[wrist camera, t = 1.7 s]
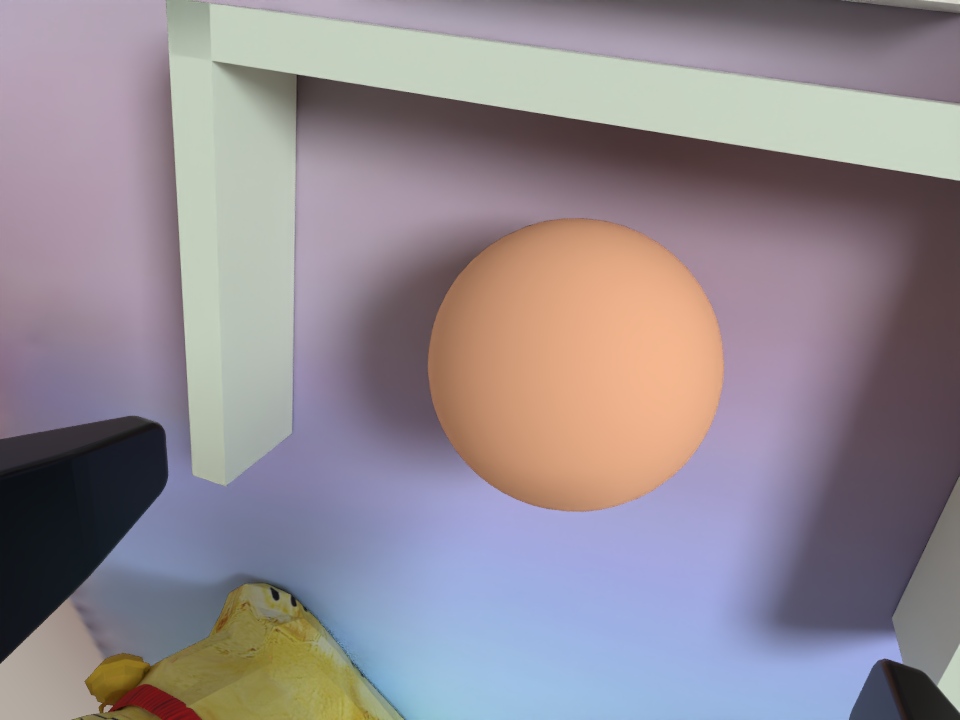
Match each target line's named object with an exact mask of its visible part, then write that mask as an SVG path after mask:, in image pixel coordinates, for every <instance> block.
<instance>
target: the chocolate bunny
mask: <svg viewBox="0 0 960 720" xmlns="http://www.w3.org/2000/svg"><path fill="white" fill-rule="evenodd" d="M85 683H86V685H87V687H88V689H89V691H90V693H91V695H95V696H96V699H97V701H98V702H101V703H102V704H101V705H100V706H99V711H100V713H99V714H92V715H86V716H83V717H79V718H76V719H72V720H404V719H403V718H402V717H401V716H400V715H399V714H398V712H397V711H396V710H395V709H394V708H393V707H392V706H391V705H390V704H389V703H388V702H387V701H386V700H385V699H384V697H383V696H382V695H381V694H380V693H379V692H378V691H377V690H376V689H375V688H374V687H373V686H372V685H371V684H370V682H369V681H368V680H367V679H366V678H365V677H364V676H363V675H362V674H361V673H360V672H359V671H358V670H357V668H356V667H355V666H354V664H353V663H352V662H351V660H350V659H349V658H348V656H347V655H346V654H345V652H344V651H343V650H342V648H341V647H340V646H339V644H338V643H337V642H336V641H335V640H334V638H333V637H332V636H331V635H330V634H329V633H328V632H327V630H326V629H325V628H324V627H323V626H322V625H321V623H320V622H319V621H318V620H317V619H316V618H315V617H314V616H313V615H312V614H311V613H310V612H309V611H308V610H307V609H306V608H305V607H304V606H303V605H301V604H300V603H299V602H298V601H297V600H296V599H295V598H294V597H293V596H292V595H290V594H288V593H286V592H284V591H282V590H279V589H277V588H275V587H273V586H271V585H269V584H266V583H255V584H244V585H242V586H240V587H239V588H237V589H235V590H234V591H232V592H230V593H229V595H228V597H227V600H226V602H225V605H224V607H223V610H222V612H221V615H220V617H219V618H218V620H217V622H216V624H215V626H214V628H213V629H212V631H211V633H210V635H209V637H208V638H206V639H204V640H202V641H200V642H198V643H195V644H193V645H191V646H189V647H187V648H185V649H183V650H181V651H179V652H177V653H175V654H173V655H171V656H169V657H167V658H165V659H163V660H161V661H160V662H158V663H156V664H154V665H152V666H151V667H150V664H149V663H144V661H143V659H142V657H139V656H135V655H131V654H126V653H121V654H118V655H114V656H111V657H109V658H107V659H105V660H104V661H103V662H102V663H101V664H100V665H99V666H98V667H97V668H96V669H95V670H94V672H93V673H92V674H91V675H90V677H88V678H87V680H86V681H85ZM106 705H113V707H112V708H111V709H110V710H109V711H108V712H106V713H103V709H104V707H105V706H106Z"/></svg>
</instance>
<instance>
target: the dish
mask: <svg viewBox="0 0 960 720" xmlns="http://www.w3.org/2000/svg"><path fill="white" fill-rule="evenodd" d="M841 1H851V2H860V3H869V4H879V5H888V6H898V7H907V8H916V9H926V10H935V11H944V12H954V13H960V0H841Z"/></svg>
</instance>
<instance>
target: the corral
mask: <svg viewBox="0 0 960 720" xmlns="http://www.w3.org/2000/svg"><path fill="white" fill-rule="evenodd" d="M166 9H167V27H168V45H169V63H170V81H171V99H172V117H173V134H174V152H175V170H176V188H177V206H178V224H179V242H180V259H181V277H182V295H183V313H184V331H185V349H186V367H187V384H188V402H189V420H190V438H191V456H192V474H193V476H196V477H199V478H202V479H205V480H208V481H211V482H214V483H217V484H220V485H223V486H227V485H228V484H229V483H231V482H232V481H233V480H234V479H236V478H237V477H238V476H239V475H241V474H242V473H243V472H244V471H246V470H247V469H248V468H249V467H251V466H252V465H253V464H254V463H256V462H257V461H258V460H259V459H261V458H262V457H263V456H264V455H266V454H267V453H268V452H269V451H271V450H272V449H273V448H274V447H276V446H277V445H278V444H279V443H281V442H282V441H283V440H284V439H286V438H287V437H288V436H289V435H291V434H292V406H293V327H294V248H295V169H296V90H297V74H299V75H305V76H311V77H317V78H324V79H330V80H336V81H342V82H349V83H355V84H361V85H367V86H373V87H380V88H386V89H392V90H398V91H405V92H411V93H417V94H423V95H429V96H436V97H442V98H448V99H454V100H461V101H467V102H473V103H479V104H486V105H492V106H498V107H504V108H510V109H517V110H523V111H529V112H535V113H542V114H548V115H554V116H560V117H566V118H573V119H579V120H585V121H591V122H598V123H604V124H610V125H616V126H622V127H629V128H635V129H641V130H647V131H654V132H660V133H666V134H672V135H679V136H685V137H691V138H697V139H703V140H710V141H716V142H722V143H728V144H735V145H741V146H747V147H753V148H759V149H766V150H772V151H778V152H784V153H791V154H797V155H803V156H809V157H815V158H822V159H828V160H834V161H840V162H847V163H853V164H859V165H865V166H872V167H878V168H884V169H890V170H896V171H903V172H909V173H915V174H921V175H928V176H934V177H940V178H946V179H952V180H959V181H960V104H959V103H952V102H944V101H937V100H929V99H922V98H915V97H907V96H900V95H893V94H885V93H878V92H870V91H863V90H856V89H848V88H841V87H834V86H826V85H819V84H812V83H804V82H797V81H789V80H782V79H775V78H767V77H760V76H753V75H745V74H738V73H731V72H723V71H716V70H708V69H701V68H694V67H686V66H679V65H672V64H664V63H657V62H649V61H642V60H635V59H627V58H620V57H613V56H605V55H598V54H591V53H583V52H576V51H568V50H561V49H554V48H546V47H539V46H532V45H524V44H517V43H510V42H502V41H495V40H487V39H480V38H473V37H465V36H458V35H451V34H443V33H436V32H429V31H421V30H414V29H406V28H399V27H392V26H384V25H377V24H370V23H362V22H355V21H347V20H340V19H333V18H325V17H318V16H311V15H303V14H296V13H289V12H281V11H274V10H266V9H259V8H251V7H242V6H234V5H225V4H216V3H208V2H199V1H191V0H166ZM892 621H893V625H894V629H895V633H896V637H897V641H898V645H899V649H900V653H901V657H902V661H903V664H904V665H907V666H910V667H913V668H916V669H919V670H921V671H923V672H924V673H926V674H927V675H928V676H929V677H930V678H931V680H932V681H933V682H934V683H935V684H936V685H937V687H938V688H939V689H940V690H941V691H942V692H943V694H944V695H945V696H946V697H947V698H948V699H949V701H950V702H951V703H952V704H953V705H954V706H955V708H956V709H957V710H958V711H959V712H960V476H959V478H958V480H957V482H956V484H955V486H954V489H953V491H952V493H951V495H950V497H949V499H948V501H947V503H946V505H945V507H944V510H943V512H942V514H941V516H940V518H939V520H938V522H937V524H936V526H935V528H934V531H933V533H932V535H931V537H930V539H929V541H928V543H927V545H926V547H925V549H924V552H923V554H922V556H921V558H920V560H919V562H918V564H917V566H916V568H915V570H914V573H913V575H912V577H911V579H910V581H909V583H908V585H907V587H906V589H905V592H904V594H903V596H902V598H901V600H900V602H899V604H898V606H897V608H896V610H895V613H894V615H893V617H892Z"/></svg>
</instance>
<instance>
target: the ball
mask: <svg viewBox="0 0 960 720" xmlns="http://www.w3.org/2000/svg"><path fill="white" fill-rule="evenodd" d="M723 373H724V359H723V348H722V339H721V334H720V330H719V326H718V322H717V319H716V316H715V314H714V311H713V309H712V306H711V304H710V302H709V300H708V298H707V297H706V295H705V293H704V291H703V289H702V288H701V286H700V285H699V283H698V282H697V280H696V279H695V278H694V277H693V275H692V274H691V273H690V271H689V270H688V269H687V268H686V267H685V266H684V265H683V264H682V263H681V262H680V261H679V260H678V259H677V258H676V257H675V256H674V255H673V254H672V253H671V252H670V251H668V250H667V249H666V248H664V247H663V246H662V245H660V244H659V243H658V242H656V241H654V240H652V239H651V238H649V237H647V236H645V235H644V234H642V233H640V232H637V231H635V230H632V229H630V228H627V227H625V226H622V225H618V224H614V223H611V222H607V221H601V220H593V219H583V218H580V219H557V220H550V221H544V222H541V223H537V224H533V225H530V226H527V227H524V228H522V229H520V230H518V231H515V232H513V233H511V234H509V235H506V236H504V237H503V238H501V239H499V240H498V241H496V242H494V243H493V244H491V245H490V246H488V247H487V248H486V249H485V250H484V251H482V252H481V253H480V254H479V255H478V256H476V257H475V258H474V259H473V260H472V261H471V262H470V263H469V264H468V265H467V266H466V268H465V269H464V270H463V271H462V272H461V273H460V274H459V275H458V277H457V278H456V280H455V281H454V283H453V284H452V286H451V287H450V289H449V290H448V292H447V294H446V296H445V298H444V300H443V302H442V304H441V306H440V308H439V310H438V313H437V316H436V319H435V322H434V325H433V329H432V334H431V340H430V346H429V352H428V374H429V384H430V391H431V396H432V400H433V405H434V408H435V411H436V414H437V416H438V419H439V422H440V424H441V426H442V428H443V430H444V432H445V434H446V436H447V437H448V439H449V440H450V442H451V443H452V445H453V447H454V448H455V450H456V451H457V453H458V454H459V455H460V456H461V457H462V459H463V460H464V461H465V462H466V464H467V465H468V466H469V467H470V468H471V469H472V470H473V471H474V472H476V473H477V474H478V475H479V476H480V477H481V478H483V479H484V480H485V481H486V482H488V483H489V484H490V485H492V486H493V487H495V488H496V489H498V490H500V491H501V492H503V493H505V494H507V495H509V496H511V497H513V498H515V499H517V500H520V501H522V502H525V503H528V504H531V505H534V506H538V507H542V508H546V509H553V510H561V511H580V512H584V511H594V510H601V509H606V508H610V507H615V506H618V505H621V504H624V503H626V502H629V501H632V500H635V499H637V498H639V497H641V496H643V495H645V494H647V493H649V492H651V491H653V490H654V489H656V488H657V487H658V486H660V485H661V484H663V483H664V482H665V481H667V480H668V479H669V478H671V477H672V476H673V475H674V474H675V473H676V472H677V471H678V470H680V469H681V468H682V467H683V466H684V465H685V464H686V463H687V461H688V460H689V459H690V458H691V456H692V455H693V454H694V452H695V451H696V450H697V448H698V447H699V445H700V444H701V442H702V441H703V439H704V437H705V435H706V434H707V432H708V430H709V428H710V426H711V424H712V421H713V419H714V416H715V413H716V411H717V407H718V404H719V400H720V395H721V390H722V385H723Z"/></svg>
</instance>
